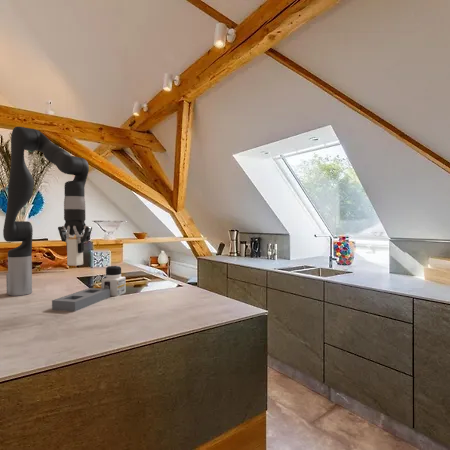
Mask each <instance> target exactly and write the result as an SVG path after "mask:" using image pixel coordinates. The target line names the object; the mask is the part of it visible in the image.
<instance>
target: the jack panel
mask: <svg viewBox="0 0 450 450" xmlns="http://www.w3.org/2000/svg"><path fill="white" fill-rule="evenodd" d="M109 298H111V296H110V289H101V288H99V287H97V288H96V287H95V288H94V287H89V288H86V289H85V288H84V289H83V290H80V291H76V292H73V293H71V294H66V295H64V296H60V297H59V298H54V299H52V300H51V310H52V311H64V312H77V311H81V310H83V309H85V308H87V307H90V306H92V305H94V304H97V303H99V302H102V301H104V300H107V299H109Z"/></svg>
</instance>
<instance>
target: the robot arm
mask: <svg viewBox="0 0 450 450" xmlns="http://www.w3.org/2000/svg"><path fill="white" fill-rule="evenodd" d="M10 136H11V137H10V168H9V169H10V171H9V180H8V188H7V205H6V212H5V217H4V218H5V219H4V223H3V229H2V231H3V232H2V237H3V239H4V241H5V242H8V243H9V242H10V243H11V242H12V243H13V242H14V243H15V242H17V243H18V242H21V243H20V245H18V246H17V247H14V248H12V249H10V250H8V251H7V273H6V274H5V275H6V276H5V277H6V278H5V279H6V295H8V296H11V297H12V296H13V297H14V296H15V297H16V296H25V295H29V294H32V293H33V260H32V258H33V257H32V253H33V252H32V251H33V231H34V230H33V225H32V223H31V222H30V221H27V220H23V221H22V220H21V221H19V220H18V221H17V220H16V219H17V216H18V215H19V213H20V211H21V210H22V209H23V208H24V207H25V205H26V204H28V203H29V201H30V200H31V199H32V196H33V195H34V188H35V187H34V186H35V185H34V184H35V181H34V177H33V176H32V173H31V172H30V170H29V168H28V167H27V164H26V162H25V151H31V152H33V151H34V152H35V151H38V152H41V153H42V155H43V157H44V158H45V159H46V160H47V161H48V162H49V163H51V164H53V165H55V167H57V168H58V170H59V171H60V172H61V173H62V174H66V175H72V176H73V177H74V178H73V180H68V181H66V182H65V183H64V188H63V189H64V199H63V200H64V201H63V220H64V221H65V222H64V225H62V226H58V227H57V231H58V233H59V235H60V239H61V242H64V243H65V244H66V248H67V239H69V238H71V237H76V238H77V239H78V253H83V254H84V251H85V243H87V242H89V240H90V236H91V234H92V231H93V226H89V225H87V224H86V200H85V195H86V194H85V193H86V192H85V186H86V183H87V179H88V175H89V171H90V166H89V163H88V161H87V160H86V159H85V158H82V157H77V156H73V155H72V156H71V154H70V152H68V151H67V150H66V149H63V148H62V147H60V146H59V145H57V144H55V143H54V142H52V141H51V140H50V139H49V138H48V137H47V136H46V135H45V134H44V133H43V132H41V131H39V130H38V129H35V128H30V127H24V126H23V127H22V126H15V127H14V128H13V129H12V132H11V135H10Z"/></svg>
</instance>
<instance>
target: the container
mask: <svg viewBox="0 0 450 450" xmlns="http://www.w3.org/2000/svg"><path fill="white" fill-rule="evenodd" d="M126 280H127V279H126V276H122V267H121V266H120V265H109V266H107V267H106V268H105V278H102V279H101V281H100V282H101V288H100V289H110V297H118V296H120V295H121V296H122V295H123V294H125V293H126V292H127V291H126V285H127V284H126Z"/></svg>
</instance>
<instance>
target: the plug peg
mask: <svg viewBox="0 0 450 450" xmlns="http://www.w3.org/2000/svg"><path fill="white" fill-rule="evenodd" d="M66 253H67V254H66V257H67V258H66V260H67V261H66V263H67V266H72V267H73V266H75V267H76V266H81V265H84V252H83V253H78V239H77V238H76V236H74V237H71V238H69V239H67V247H66Z"/></svg>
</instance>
